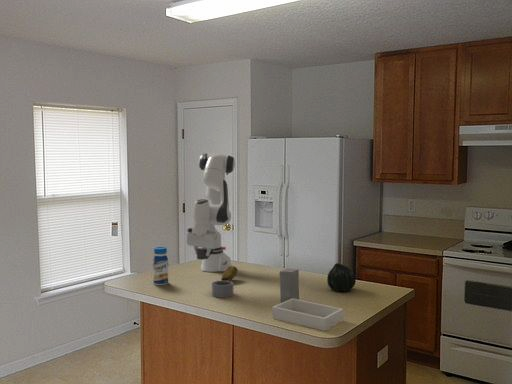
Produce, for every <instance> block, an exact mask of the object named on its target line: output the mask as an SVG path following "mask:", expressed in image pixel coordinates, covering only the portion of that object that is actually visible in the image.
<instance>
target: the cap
mask: <svg viewBox="0 0 512 384" xmlns="http://www.w3.org/2000/svg"><path fill="white" fill-rule="evenodd" d="M205 253H207V248H203V247H198V249H197V255H196V259H197V260H202V259H208V256H205V255H206V254H205Z"/></svg>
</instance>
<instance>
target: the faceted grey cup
mask: <svg viewBox="0 0 512 384" xmlns="http://www.w3.org/2000/svg"><path fill="white" fill-rule="evenodd" d="M234 294H235V293H234V281H232V280H231V281H223V280H216V281H212V283H211V296H212V297H213V298H219V299H226V298H227V299H228V298H231V297H234Z"/></svg>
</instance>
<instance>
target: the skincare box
mask: <svg viewBox="0 0 512 384" xmlns="http://www.w3.org/2000/svg"><path fill="white" fill-rule="evenodd" d="M299 271H300V270H299V269H296V268H285V269H282V270H280V271H279V290H280V292H279V294H280V298H279V299H280V303H283V302H285V301H287V300H290V299H292V298H293V299H298V300H300V284H299V283H300V282H299V281H300V279H299Z"/></svg>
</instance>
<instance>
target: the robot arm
mask: <svg viewBox="0 0 512 384" xmlns="http://www.w3.org/2000/svg"><path fill="white" fill-rule="evenodd" d="M198 167H199V170H202V171H203V175H202V176H203V177H202V179H203V180H202V181H203V183H204V184H205V185H206V189H205V197H206V198H205V199H204V198H203V199H202V198H201V199H197V200H195V201H194V206H193V213H192V214H193V217H192V218H193V221H194V222H193V226H191V227H188V228H187V229H186V232H187V234H186V244H187V246H190V247H193V250H194V251H195V255H196V256H197V249H198V248H207V253H205V254H206V255H205V256H208V259H201V265H200V270H201V271H202V272H208V273H212V272H215V273H216V272H225V271H226V269H227V268H228V267H230V266H234V267H235V264H233V263H232V260H231V257H230V256H228V255H227V253H225V252H224V251H225V250H226V249H227V247H226V246H223V245H222V234H221V232H220V231H218V229H217V228H216V227H215V226H224V225H228V224H229V223H230V222H231V220H232V212H231V211H230V209H229V207H230V206H229V190H228V187H229V186H228V183H227V181H226V176H228V175H229V174H231V173H232V172H233V171H234V169H235V167H236V160H235V157H233V156H232V155H226V154H222V153H202V154H200V156H199V159H198Z"/></svg>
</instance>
